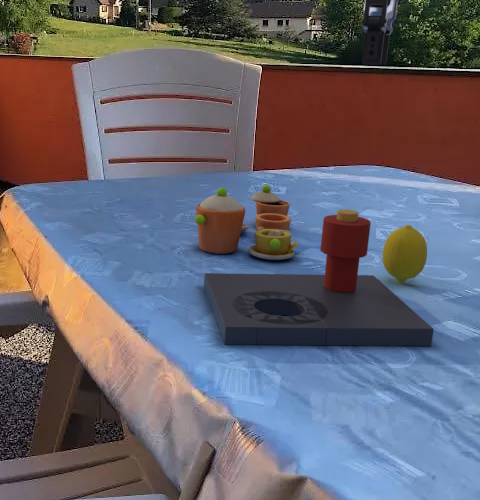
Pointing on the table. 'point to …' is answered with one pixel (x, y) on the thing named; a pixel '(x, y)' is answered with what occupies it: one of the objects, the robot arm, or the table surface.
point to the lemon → (404, 253)
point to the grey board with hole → (311, 312)
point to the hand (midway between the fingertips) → (374, 64)
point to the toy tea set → (231, 225)
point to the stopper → (344, 248)
